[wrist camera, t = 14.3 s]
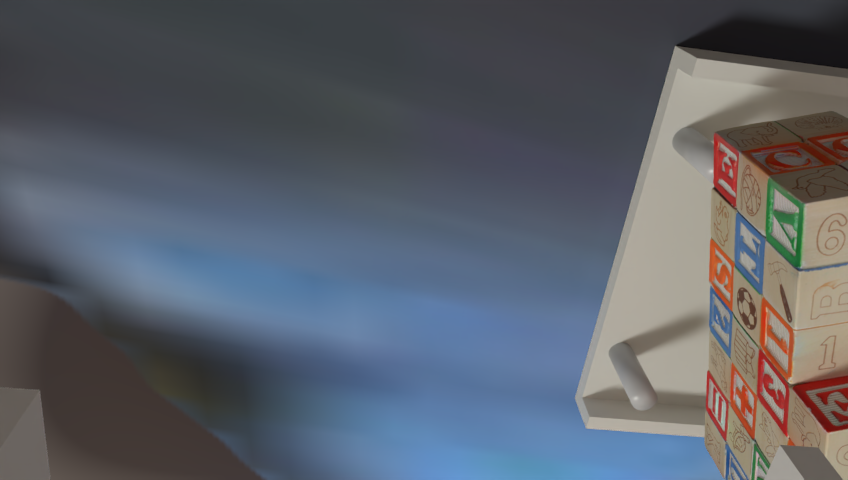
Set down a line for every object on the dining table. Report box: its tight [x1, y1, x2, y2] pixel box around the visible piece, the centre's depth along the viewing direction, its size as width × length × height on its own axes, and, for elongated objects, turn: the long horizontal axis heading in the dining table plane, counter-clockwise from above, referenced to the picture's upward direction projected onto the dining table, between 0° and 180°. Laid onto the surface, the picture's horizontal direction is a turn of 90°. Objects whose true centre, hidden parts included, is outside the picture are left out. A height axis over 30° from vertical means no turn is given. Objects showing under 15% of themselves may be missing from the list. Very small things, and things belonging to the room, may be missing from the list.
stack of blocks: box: [705, 111, 848, 480], centre depth 35 cm, size 21×6×12 cm, turn 9°
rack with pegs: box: [575, 46, 848, 437], centre depth 44 cm, size 25×13×6 cm, turn 172°
